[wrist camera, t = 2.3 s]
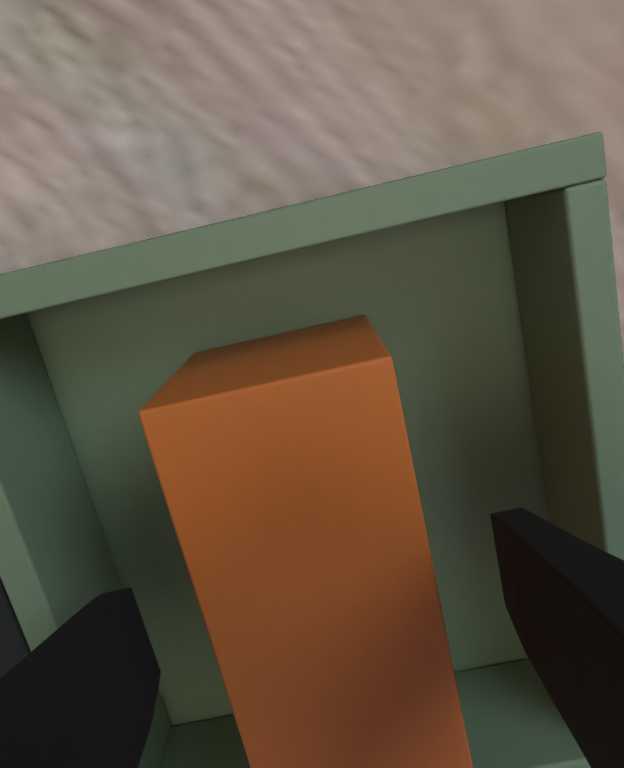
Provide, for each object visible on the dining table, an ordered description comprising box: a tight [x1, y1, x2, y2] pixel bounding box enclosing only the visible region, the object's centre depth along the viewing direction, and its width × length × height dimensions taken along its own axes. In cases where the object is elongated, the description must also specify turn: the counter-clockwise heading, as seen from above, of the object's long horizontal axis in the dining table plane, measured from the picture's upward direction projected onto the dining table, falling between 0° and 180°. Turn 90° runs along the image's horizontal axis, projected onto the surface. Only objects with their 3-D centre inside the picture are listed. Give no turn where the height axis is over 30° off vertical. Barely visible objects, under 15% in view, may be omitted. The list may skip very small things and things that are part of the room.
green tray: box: [0, 132, 624, 768], centre depth 14 cm, size 15×14×4 cm
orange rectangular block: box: [139, 315, 473, 768], centre depth 14 cm, size 9×4×5 cm, turn 13°
